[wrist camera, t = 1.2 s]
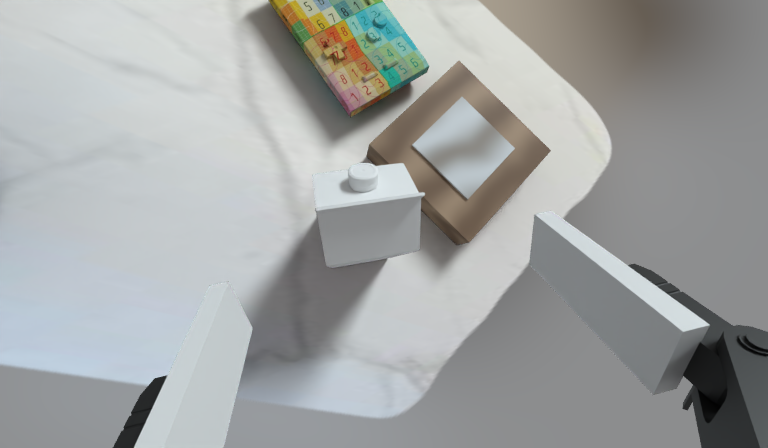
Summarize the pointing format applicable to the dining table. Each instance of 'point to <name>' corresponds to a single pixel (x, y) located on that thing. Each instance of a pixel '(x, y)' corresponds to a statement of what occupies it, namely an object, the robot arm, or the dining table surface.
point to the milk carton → (367, 213)
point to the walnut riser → (460, 152)
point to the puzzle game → (354, 47)
